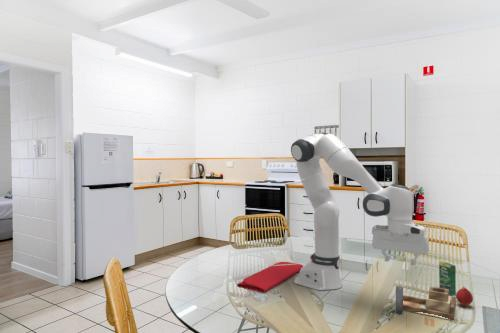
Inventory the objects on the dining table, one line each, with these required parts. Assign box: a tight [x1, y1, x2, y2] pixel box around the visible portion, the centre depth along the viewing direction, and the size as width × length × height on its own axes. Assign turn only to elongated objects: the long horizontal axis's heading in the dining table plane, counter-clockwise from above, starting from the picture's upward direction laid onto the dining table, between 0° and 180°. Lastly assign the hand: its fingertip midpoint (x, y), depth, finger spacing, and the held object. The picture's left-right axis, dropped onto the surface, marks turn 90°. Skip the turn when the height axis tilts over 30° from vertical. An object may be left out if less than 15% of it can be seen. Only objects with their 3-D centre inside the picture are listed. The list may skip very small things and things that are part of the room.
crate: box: [425, 285, 452, 314], centre depth 139 cm, size 8×8×8 cm
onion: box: [455, 285, 474, 307], centre depth 145 cm, size 6×6×8 cm
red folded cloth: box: [236, 261, 304, 294], centre depth 180 cm, size 16×41×4 cm, turn 147°
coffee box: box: [438, 260, 457, 297], centre depth 161 cm, size 8×3×13 cm, turn 6°
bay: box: [403, 294, 457, 321], centre depth 141 cm, size 19×12×5 cm, turn 58°
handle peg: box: [395, 285, 404, 316], centre depth 138 cm, size 3×3×10 cm
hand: (399, 262), depth 138 cm, fingers open, 8 cm apart
